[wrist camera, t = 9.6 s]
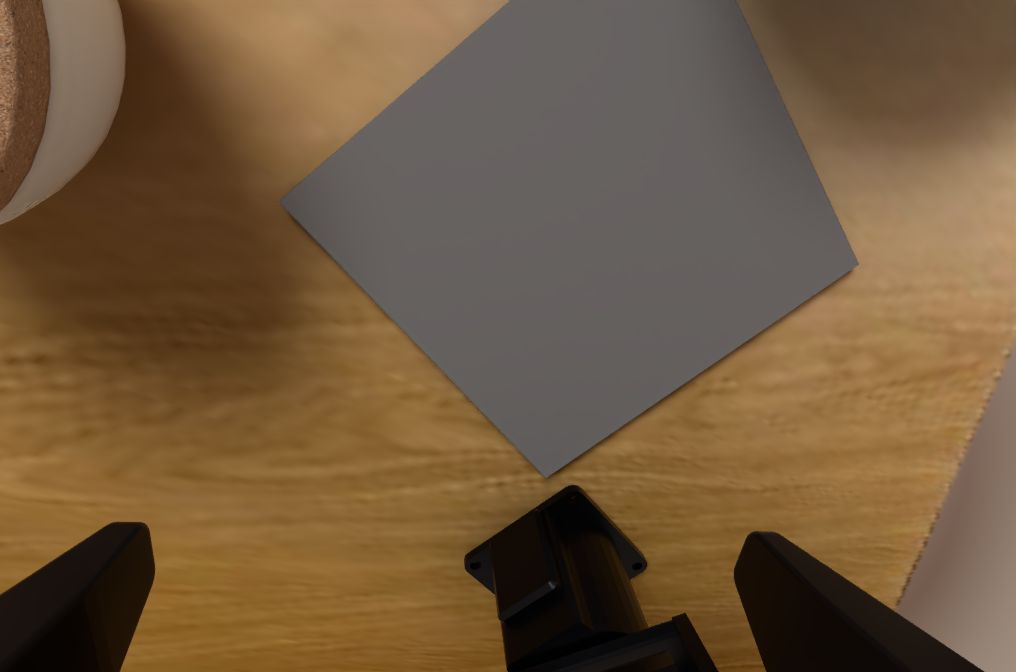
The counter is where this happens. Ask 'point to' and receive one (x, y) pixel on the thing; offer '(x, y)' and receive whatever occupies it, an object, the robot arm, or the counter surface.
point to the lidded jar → (55, 93)
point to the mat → (581, 211)
